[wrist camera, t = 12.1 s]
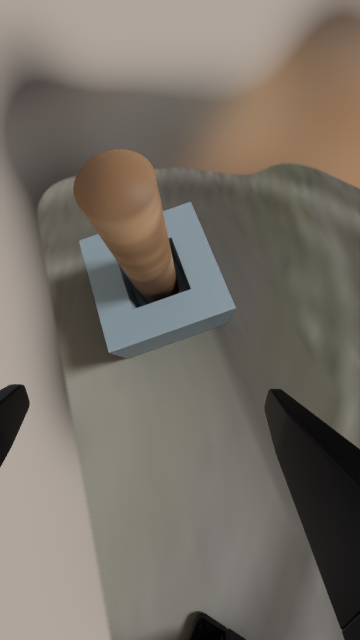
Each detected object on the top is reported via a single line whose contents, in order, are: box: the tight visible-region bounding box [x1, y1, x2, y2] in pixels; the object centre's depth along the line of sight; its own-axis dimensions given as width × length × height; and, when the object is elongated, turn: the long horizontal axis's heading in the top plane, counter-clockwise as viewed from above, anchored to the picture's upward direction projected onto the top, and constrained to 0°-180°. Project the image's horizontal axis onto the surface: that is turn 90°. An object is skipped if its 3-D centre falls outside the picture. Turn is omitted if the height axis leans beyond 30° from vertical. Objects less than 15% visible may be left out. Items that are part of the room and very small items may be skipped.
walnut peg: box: [74, 149, 179, 304], centre depth 17 cm, size 4×4×13 cm
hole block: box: [79, 202, 236, 358], centre depth 21 cm, size 10×10×5 cm
